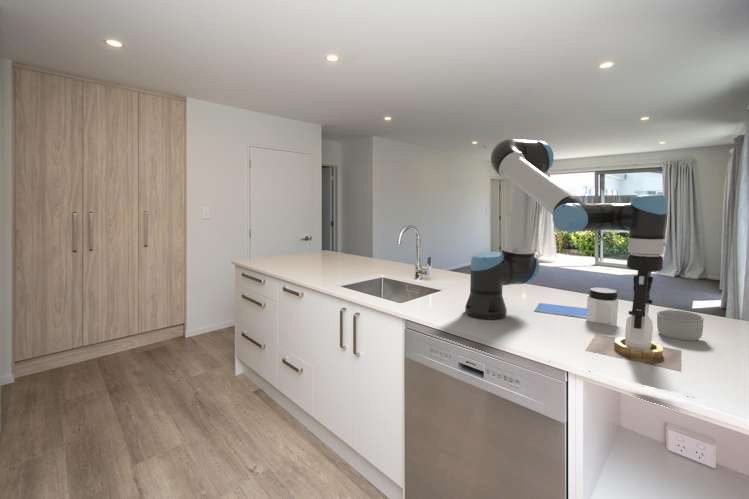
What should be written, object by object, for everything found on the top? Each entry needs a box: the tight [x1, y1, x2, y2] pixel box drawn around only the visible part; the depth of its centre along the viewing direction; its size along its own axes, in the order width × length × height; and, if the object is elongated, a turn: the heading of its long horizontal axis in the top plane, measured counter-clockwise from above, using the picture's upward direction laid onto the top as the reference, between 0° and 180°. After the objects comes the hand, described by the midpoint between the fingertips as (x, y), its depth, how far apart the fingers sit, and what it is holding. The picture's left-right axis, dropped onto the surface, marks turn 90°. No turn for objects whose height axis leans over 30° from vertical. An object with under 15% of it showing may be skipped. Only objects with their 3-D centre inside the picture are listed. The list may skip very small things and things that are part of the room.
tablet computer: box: [533, 302, 587, 319], centre depth 140 cm, size 19×13×1 cm, turn 58°
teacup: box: [656, 308, 705, 342], centre depth 110 cm, size 14×11×8 cm
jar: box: [585, 287, 619, 327], centre depth 123 cm, size 9×8×12 cm
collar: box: [614, 336, 664, 360], centre depth 97 cm, size 10×10×2 cm
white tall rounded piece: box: [624, 310, 654, 350], centre depth 96 cm, size 6×12×6 cm
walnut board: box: [585, 333, 682, 372], centre depth 98 cm, size 20×16×2 cm
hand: (639, 332), depth 96 cm, fingers open, 13 cm apart
